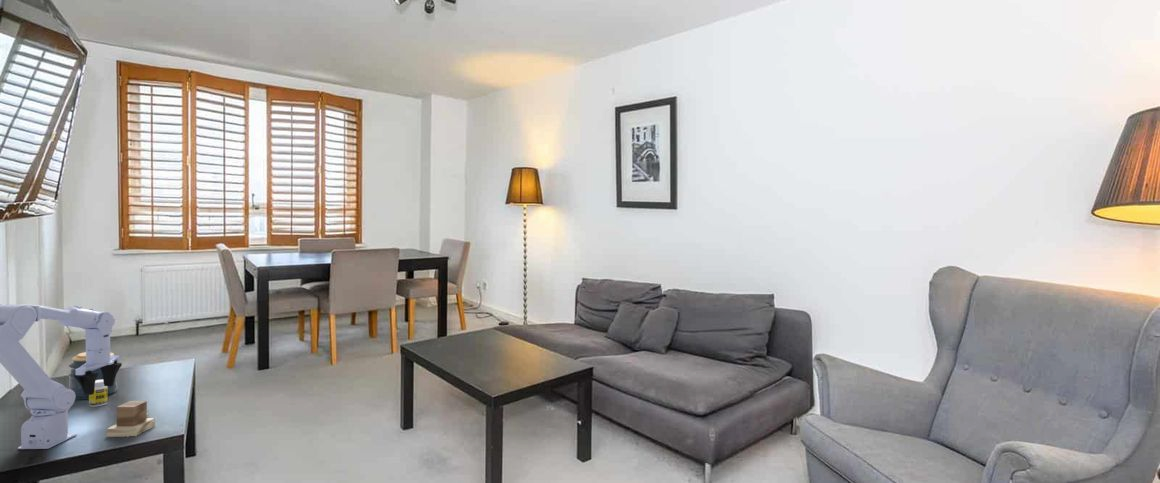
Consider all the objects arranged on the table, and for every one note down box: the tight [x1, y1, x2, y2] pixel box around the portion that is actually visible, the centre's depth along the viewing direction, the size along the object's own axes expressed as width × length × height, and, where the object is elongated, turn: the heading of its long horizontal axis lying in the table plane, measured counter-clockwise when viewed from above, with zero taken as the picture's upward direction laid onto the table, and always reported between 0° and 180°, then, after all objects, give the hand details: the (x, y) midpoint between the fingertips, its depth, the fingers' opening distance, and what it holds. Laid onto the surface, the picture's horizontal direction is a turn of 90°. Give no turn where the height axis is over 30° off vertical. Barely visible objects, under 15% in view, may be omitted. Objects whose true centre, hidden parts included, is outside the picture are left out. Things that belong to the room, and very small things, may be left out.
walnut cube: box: [116, 400, 148, 426], centre depth 159 cm, size 5×5×6 cm
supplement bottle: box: [88, 380, 108, 408], centre depth 179 cm, size 5×5×8 cm
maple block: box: [106, 417, 156, 438], centre depth 159 cm, size 8×8×3 cm
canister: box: [68, 351, 118, 400], centre depth 188 cm, size 13×13×18 cm
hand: (99, 390), depth 164 cm, fingers open, 7 cm apart
